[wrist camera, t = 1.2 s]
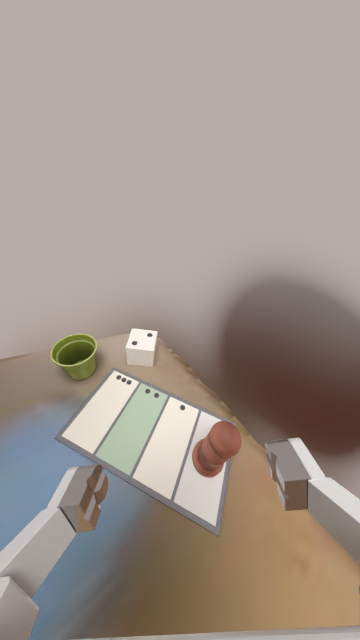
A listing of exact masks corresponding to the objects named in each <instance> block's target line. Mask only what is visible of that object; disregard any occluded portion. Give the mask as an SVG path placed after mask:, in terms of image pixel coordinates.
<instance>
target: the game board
mask: <svg viewBox="0 0 360 640" xmlns="http://www.w3.org/2000/svg"><path fill="white" fill-rule="evenodd" d="M219 421H228V422H230V423H232V424H233V425H234V426H235V427H236V423H234V422H232V421H229V420H227V419H225V418H223V417H221V416H219V415H216V414H214V413H212V412H210V411H208V410H206V409H203V408H201V407H199V406H197V405H195V404H193V403H190V402H188V401H186V400H184V399H182V398H180V397H177V396H175V395H173V394H171V393H169V392H167V391H164V390H162V389H160V388H158V387H156V386H154V385H151V384H149V383H147V382H145V381H143V380H141V379H138V378H136V377H134V376H132V375H130V374H128V373H125V372H123V371H121V370H119V369H117V368H115V367H114V368H113V369H112V370H111V371H110V372H109V374H108V375H107V376H106V377H105V378H104V380H103V381H102V382H101V383H100V384H99V386H98V387H97V388H96V389H95V390H94V392H93V393H92V394H91V395H90V396H89V398H88V399H87V400H86V401H85V402H84V404H83V405H82V406H81V407H80V408H79V410H78V411H77V412H76V413H75V414H74V416H73V417H72V418H71V419H70V420H69V422H68V423H67V424H66V425H65V426H64V428H63V429H62V430H61V431H60V432H59V434H58V435H57V436H56V437H55V439H57V440H58V441H60V442H62V443H63V444H65V445H67V446H68V447H70V448H72V449H73V450H75V451H77V452H78V453H80V454H82V455H83V456H85V457H87V458H88V459H90V460H92V461H93V462H95V463H97V464H101V466H102V467H103V468H105V469H107V470H108V471H110V472H112V473H113V474H115V475H117V476H118V477H120V478H122V479H123V480H125V481H127V482H128V483H130V484H132V485H133V486H135V487H137V488H138V489H140V490H142V491H143V492H145V493H147V494H148V495H150V496H152V497H153V498H155V499H157V500H158V501H160V502H162V503H163V504H165V505H167V506H168V507H170V508H172V509H173V510H175V511H177V512H178V513H180V514H182V515H183V516H185V517H187V518H188V519H190V520H192V521H193V522H195V523H197V524H198V525H200V526H202V527H203V528H205V529H207V530H209V531H210V532H212V533H214V534H215V535H217V536H219V533H220V527H221V520H222V514H223V507H224V501H225V494H226V487H227V481H228V474H229V468H230V461H231V458H230V459H228V460H227V461H226V462H225V463H224V466H223V469H222V471H221V472H220V473H219V474H218V475H216V476H215V477H212V478H206V477H204V476H202V475H200V474H199V473H198V472H197V470H196V469H195V467H194V464H193V460H192V453H193V449H194V447H195V445H196V444H197V443H198V442H199V441H200V440H201V439H204V438H206V436H207V435H208V433H209V432H210V430H211V428H212V426H213V425H214V424H215V423H217V422H219Z"/></svg>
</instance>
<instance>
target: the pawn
mask: <svg viewBox="0 0 360 640" xmlns="http://www.w3.org/2000/svg"><path fill="white" fill-rule="evenodd" d="M240 447H241V436H240V433H239V431H238V429H237V428H236V427H235V426H234V425H233V424H232V423H230V422H228V421H219V422H217V423H215V424H214V425H213V426H212V428H211V430H210V432H209V433H208V435H207V436H206V438H204V439H201V440H200V441H199V442H198V443H197V444H196V445H195V447H194V449H193V453H192V460H193V464H194V467H195V469H196V470H197V472H198V473H199V474H200V475H202V476H204V477H206V478H212V477H215V476H216V475H218V474H219V473H220V472H221V471H222V469H223V466H224V463H225V462H226V461H227V460H228V459H230V458H231V457H233V456H234V455H236V454H237V453H238V451H239V450H240Z"/></svg>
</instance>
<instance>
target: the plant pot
mask: <svg viewBox="0 0 360 640" xmlns="http://www.w3.org/2000/svg"><path fill="white" fill-rule="evenodd" d="M96 350H97V342H96V340H95V339H94V338H93V337H92V336H90V335H87V334H73V335H69V336H67V337H64V338H62V339H61V340H59V341H58V342H57V343H56V344H55V345H54V346H53V348H52V349H51V352H50V357H51V359H52V361H53V362H54V363H55V364H57V365H59V366H61V367H63V369H64V370H65V371H66V372H67V373H68V374H69V375H70V377H71V378H73V379H75V380H84V379H86V378H88V377H90V376H91V375H92V374H93V373H94V371H95V368H96V363H95V352H96Z"/></svg>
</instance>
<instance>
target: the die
mask: <svg viewBox="0 0 360 640" xmlns="http://www.w3.org/2000/svg"><path fill="white" fill-rule="evenodd" d="M156 344H157V331H150V330H141V329H132V331H131V333H130V336H129V339H128V342H127V345H126V356H127V364H128V365H137V366H147V367H153V364H154V358H155V352H156Z"/></svg>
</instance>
